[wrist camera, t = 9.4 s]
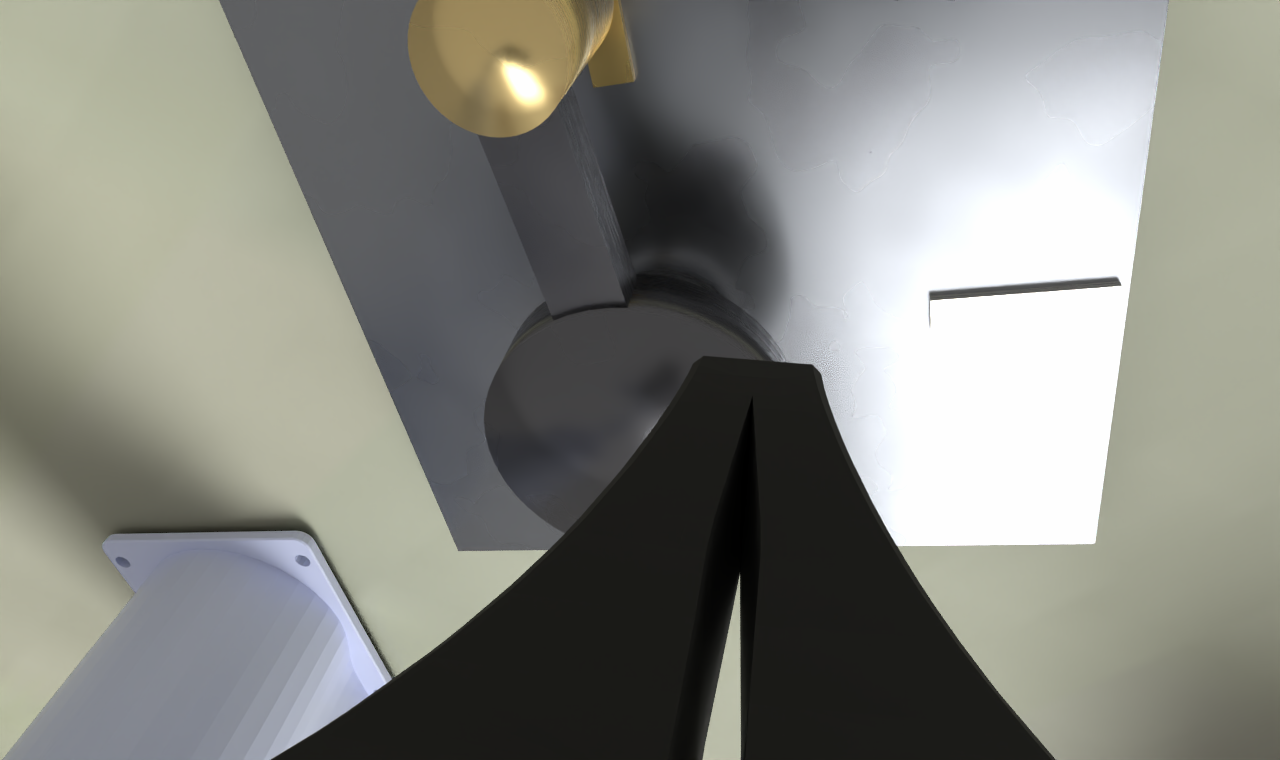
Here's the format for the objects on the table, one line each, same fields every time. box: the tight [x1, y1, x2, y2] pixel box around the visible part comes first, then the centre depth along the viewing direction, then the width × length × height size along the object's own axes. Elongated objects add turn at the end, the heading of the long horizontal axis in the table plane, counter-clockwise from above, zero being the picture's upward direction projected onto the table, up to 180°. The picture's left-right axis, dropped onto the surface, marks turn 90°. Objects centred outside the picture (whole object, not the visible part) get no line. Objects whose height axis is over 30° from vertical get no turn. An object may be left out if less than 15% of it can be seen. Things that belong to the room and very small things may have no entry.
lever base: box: [219, 0, 1169, 551], centre depth 19 cm, size 17×17×4 cm
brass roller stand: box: [408, 0, 787, 533], centre depth 17 cm, size 12×6×4 cm, turn 17°
